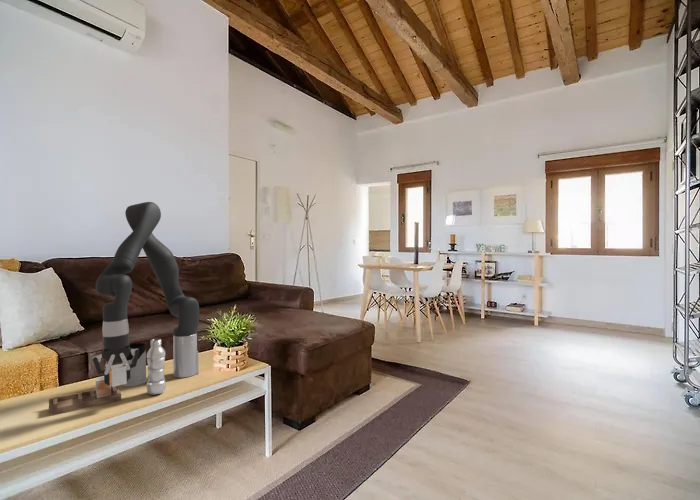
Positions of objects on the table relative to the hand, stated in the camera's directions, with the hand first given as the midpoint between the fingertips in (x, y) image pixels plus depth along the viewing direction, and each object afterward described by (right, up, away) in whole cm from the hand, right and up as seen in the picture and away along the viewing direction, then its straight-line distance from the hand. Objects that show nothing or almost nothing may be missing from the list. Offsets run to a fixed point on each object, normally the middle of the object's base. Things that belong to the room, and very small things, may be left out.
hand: (117, 382), depth 124 cm
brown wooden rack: (-12, -8, +2) cm, 15 cm away
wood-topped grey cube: (0, 0, 0) cm, 1 cm away
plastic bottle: (+7, -8, +11) cm, 16 cm away
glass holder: (-10, -9, +22) cm, 26 cm away
